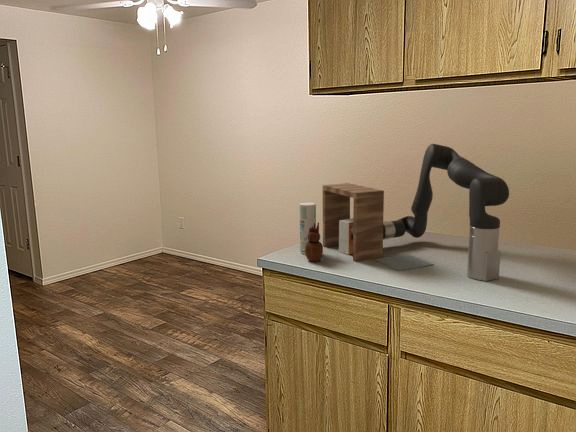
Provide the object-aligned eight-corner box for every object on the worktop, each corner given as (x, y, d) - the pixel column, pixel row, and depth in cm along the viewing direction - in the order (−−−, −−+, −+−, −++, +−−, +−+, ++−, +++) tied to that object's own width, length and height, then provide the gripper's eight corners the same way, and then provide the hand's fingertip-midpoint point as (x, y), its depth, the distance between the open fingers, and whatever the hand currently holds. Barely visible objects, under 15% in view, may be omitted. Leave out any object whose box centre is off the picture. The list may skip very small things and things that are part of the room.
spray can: (318, 253, 196) (318, 204, 192) (303, 255, 194) (302, 205, 190) (312, 249, 202) (312, 201, 198) (297, 251, 200) (297, 203, 196)
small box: (348, 255, 193) (348, 222, 191) (338, 251, 199) (338, 220, 196) (364, 251, 198) (364, 220, 195) (353, 248, 203) (354, 217, 200)
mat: (433, 265, 179) (433, 264, 178) (399, 270, 172) (399, 269, 172) (407, 255, 192) (407, 254, 192) (375, 260, 186) (375, 259, 186)
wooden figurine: (325, 260, 187) (325, 221, 184) (316, 263, 183) (315, 224, 180) (312, 257, 191) (311, 219, 188) (302, 260, 187) (301, 222, 184)
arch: (382, 257, 189) (383, 190, 184) (355, 261, 184) (356, 193, 179) (347, 242, 212) (347, 183, 207) (322, 246, 207) (322, 185, 202)
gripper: (371, 218, 208) (337, 222, 202) (392, 225, 195) (356, 229, 189) (371, 236, 210) (337, 240, 203) (391, 243, 197) (356, 248, 190)
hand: (346, 235), depth 196 cm, fingers closed on small box, 7 cm apart
